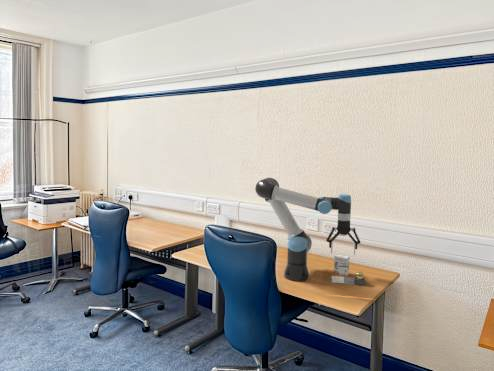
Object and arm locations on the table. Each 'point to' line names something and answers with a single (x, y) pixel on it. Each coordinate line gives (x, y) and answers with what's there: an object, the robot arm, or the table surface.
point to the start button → (359, 275)
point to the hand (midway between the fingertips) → (342, 253)
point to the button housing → (359, 281)
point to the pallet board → (342, 280)
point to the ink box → (341, 264)
